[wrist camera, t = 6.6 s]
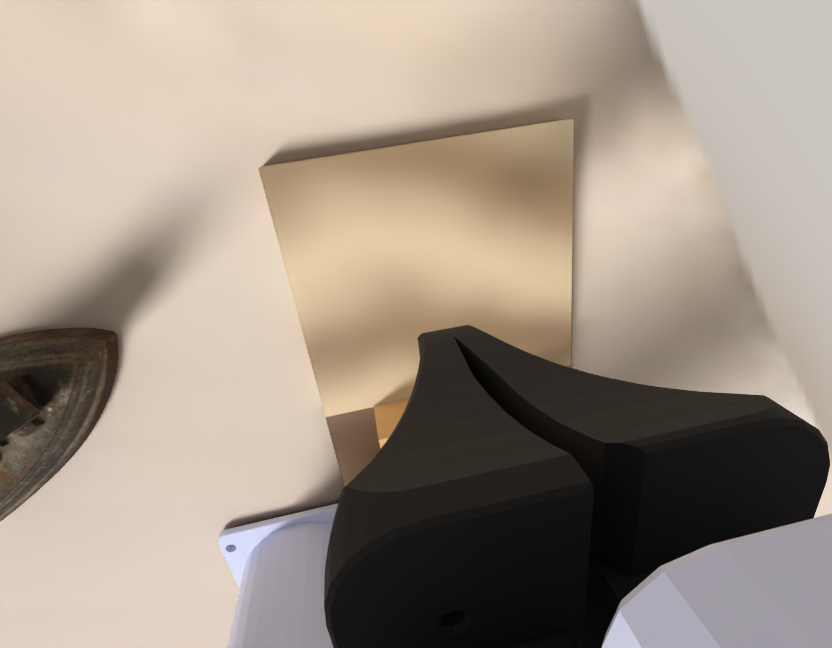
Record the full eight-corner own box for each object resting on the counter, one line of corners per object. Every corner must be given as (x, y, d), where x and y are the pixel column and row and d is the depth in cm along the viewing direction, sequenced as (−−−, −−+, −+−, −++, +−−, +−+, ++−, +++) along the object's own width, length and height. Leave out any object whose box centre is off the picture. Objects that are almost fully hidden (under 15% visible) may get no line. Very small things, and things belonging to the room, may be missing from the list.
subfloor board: (560, 447, 25) (569, 459, 24) (350, 496, 24) (351, 511, 23) (561, 119, 18) (574, 119, 17) (262, 165, 17) (258, 167, 16)
